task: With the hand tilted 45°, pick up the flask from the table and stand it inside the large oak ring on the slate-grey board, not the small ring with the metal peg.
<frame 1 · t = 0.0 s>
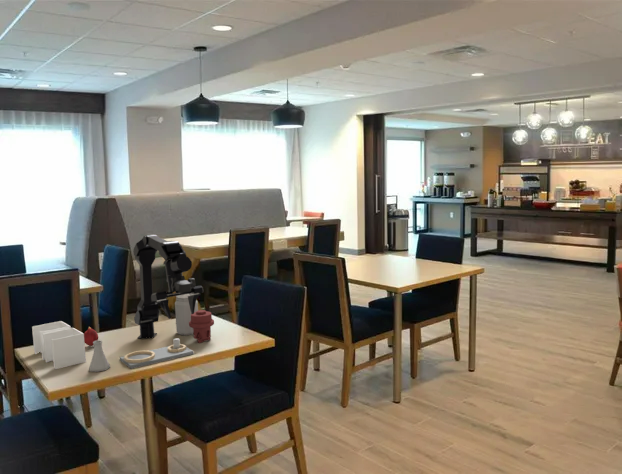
hand: (181, 316, 210), 15 cm above the table, tool pointing down, fingers open, 9 cm apart
flask: (99, 369, 201), on the table
mechanical component: (202, 341, 231), on the table
onion: (91, 346, 228), on the table
storage container: (59, 358, 215), on the table
jar: (187, 333, 243), on the table
board: (157, 357, 212), on the table
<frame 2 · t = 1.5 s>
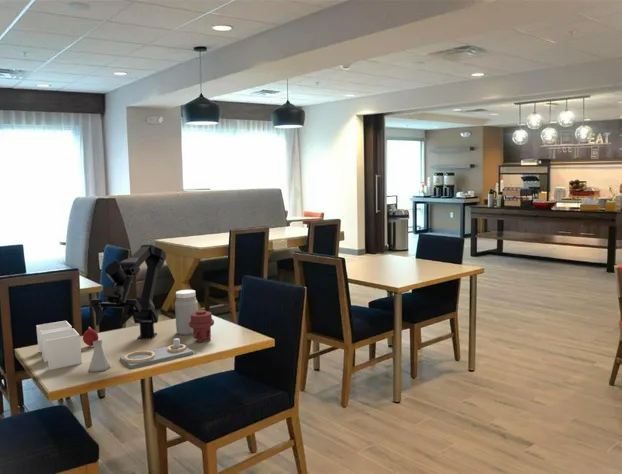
hand: (108, 325, 208), 13 cm above the table, tool tilted 45°, fingers open, 9 cm apart
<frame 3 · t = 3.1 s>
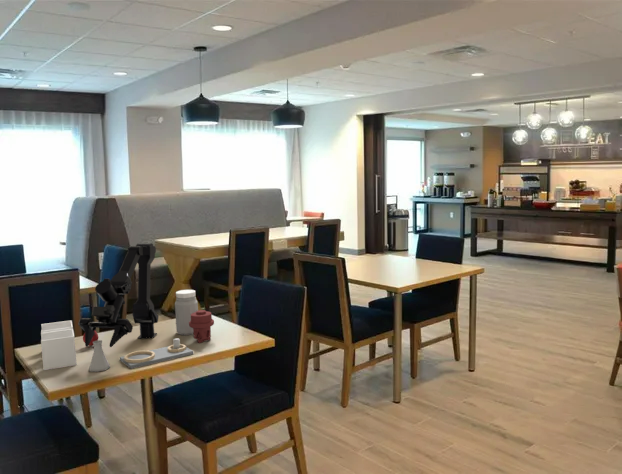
hand: (98, 346, 201), 8 cm above the table, tool tilted 45°, fingers open, 9 cm apart
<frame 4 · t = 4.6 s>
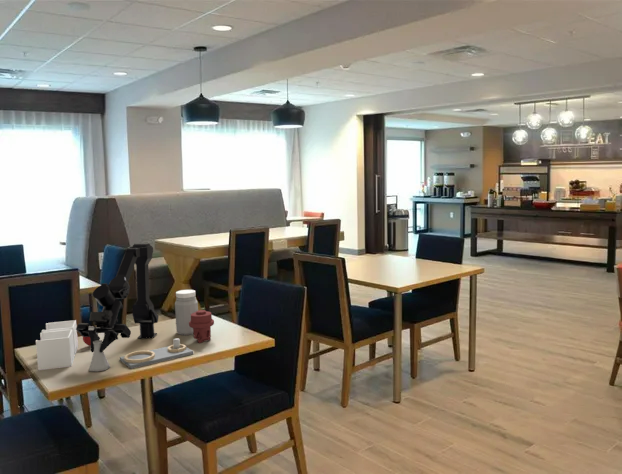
hand: (96, 351, 199), 7 cm above the table, tool tilted 45°, fingers closed on flask, 3 cm apart
flask: (99, 369, 201), on the table, touching gripper
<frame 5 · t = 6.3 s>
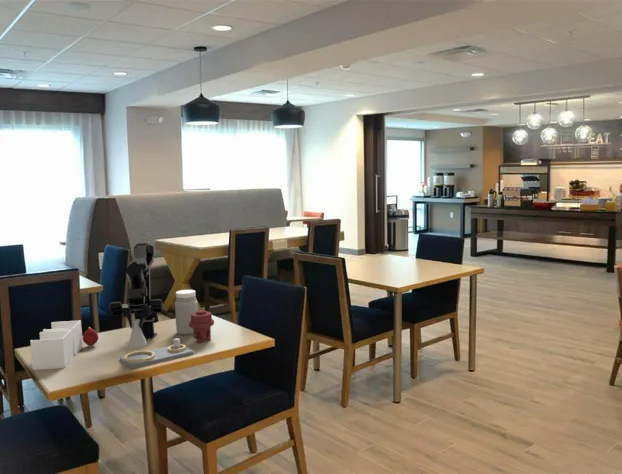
hand: (135, 327, 205), 13 cm above the table, tool tilted 45°, fingers closed on flask, 3 cm apart
flask: (137, 347, 207), point 5 cm above the table, touching gripper
when the fingers open (9 cm above the table, at t = 7.6 s): flask stays where it is, resting on board.
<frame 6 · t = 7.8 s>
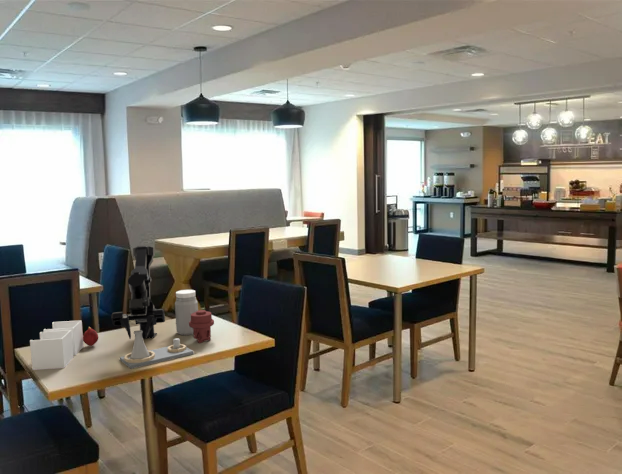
hand: (138, 337, 206), 9 cm above the table, tool tilted 45°, fingers open, 5 cm apart
flask: (140, 358, 208), point 1 cm above the table, touching board
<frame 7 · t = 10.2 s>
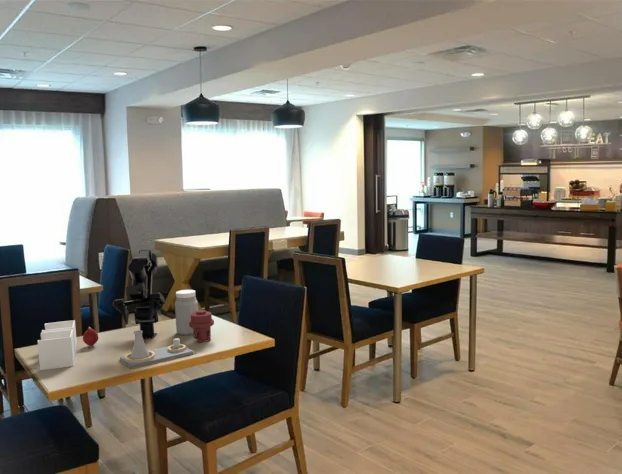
hand: (138, 322, 215), 13 cm above the table, tool tilted 40°, fingers open, 9 cm apart
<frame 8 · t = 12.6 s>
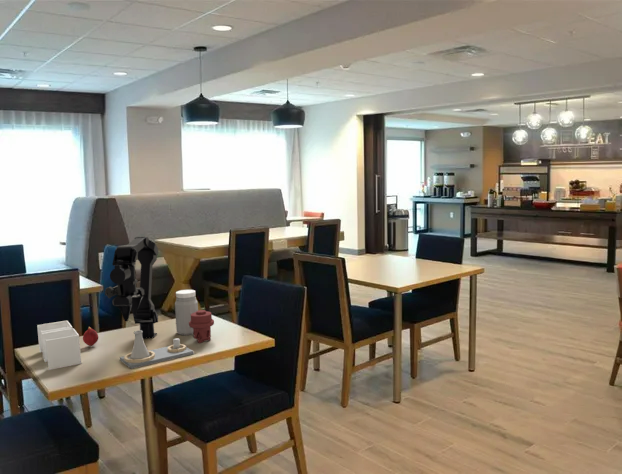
hand: (130, 317, 219), 13 cm above the table, tool pointing down, fingers open, 9 cm apart
at the end: flask 0.1 cm from the target spot, point 1.0 cm above the table; flask tilted 0°; the gripper is holding nothing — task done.
